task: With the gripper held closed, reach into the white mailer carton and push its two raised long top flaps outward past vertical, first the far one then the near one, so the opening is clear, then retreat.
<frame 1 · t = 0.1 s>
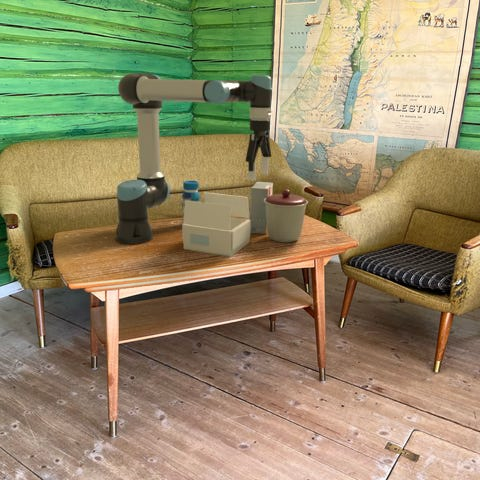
hand: (258, 176, 185), 28 cm above the table, fingers open, 13 cm apart
flap near: (206, 215, 180), point 15 cm above the table, hinge at 78.0°
canister: (283, 239, 203), on the table
flap far: (226, 204, 195), point 15 cm above the table, hinge at 78.0°
hard drive box: (260, 229, 216), on the table
carton: (217, 246, 193), on the table
beverage bottle: (191, 225, 220), on the table
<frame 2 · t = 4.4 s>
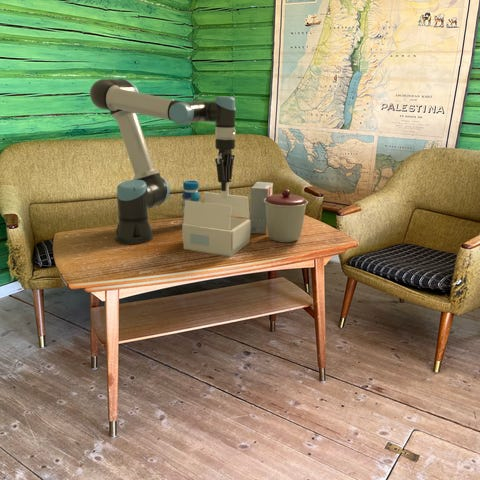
hand: (224, 198, 193), 18 cm above the table, fingers closed
flap far: (226, 204, 196), point 15 cm above the table, hinge at 79.2°, touching gripper
everything else where it was.
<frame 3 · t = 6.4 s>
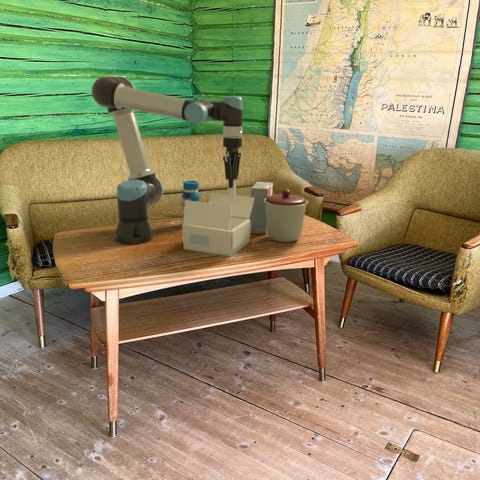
hand: (231, 195, 199), 18 cm above the table, fingers closed
flap far: (230, 205, 199), point 14 cm above the table, hinge at 126.0°, touching gripper
everything else where it was.
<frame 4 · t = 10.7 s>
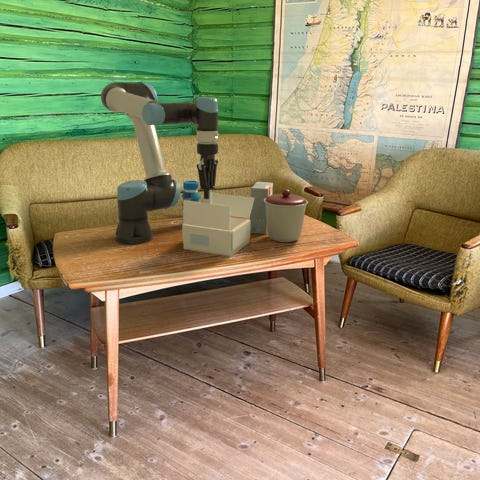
hand: (207, 206, 180), 18 cm above the table, fingers closed
flap near: (206, 215, 180), point 15 cm above the table, hinge at 85.1°, touching gripper
flap far: (230, 205, 199), point 14 cm above the table, hinge at 126.1°
everything else where it was.
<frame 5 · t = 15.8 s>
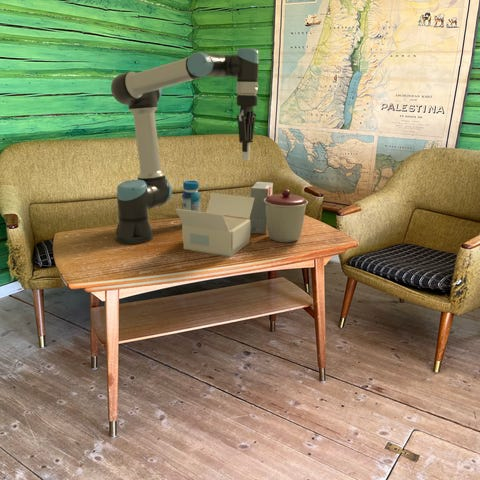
hand: (245, 160, 182), 34 cm above the table, fingers closed
flap near: (202, 219, 178), point 14 cm above the table, hinge at 126.2°
everything else where it was.
at the end: flap far at +126° (first picture: +78°); flap near at +126° (first picture: +78°) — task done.
